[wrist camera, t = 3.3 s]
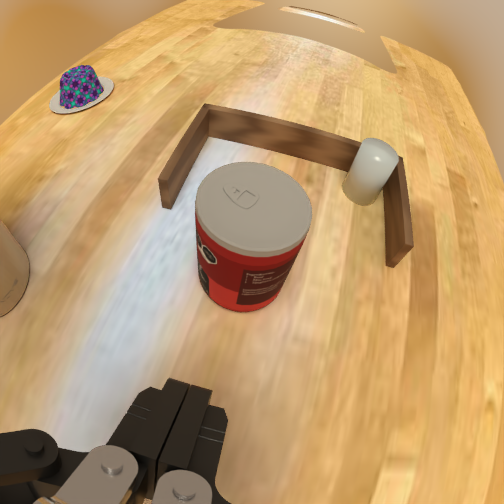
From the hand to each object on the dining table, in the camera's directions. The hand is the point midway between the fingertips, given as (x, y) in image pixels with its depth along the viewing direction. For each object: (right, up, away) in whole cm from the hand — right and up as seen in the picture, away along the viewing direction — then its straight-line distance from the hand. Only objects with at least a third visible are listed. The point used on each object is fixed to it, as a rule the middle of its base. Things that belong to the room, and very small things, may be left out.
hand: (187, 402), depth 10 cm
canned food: (+1, +3, +21) cm, 21 cm away
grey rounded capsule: (+16, +13, +28) cm, 35 cm away
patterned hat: (-27, +31, +34) cm, 54 cm away
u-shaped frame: (+7, +12, +27) cm, 30 cm away
